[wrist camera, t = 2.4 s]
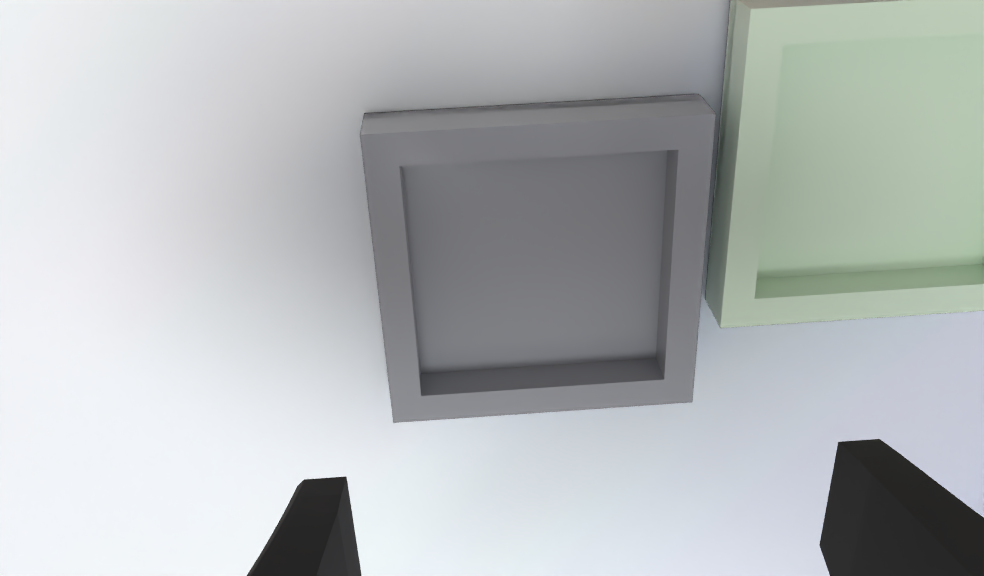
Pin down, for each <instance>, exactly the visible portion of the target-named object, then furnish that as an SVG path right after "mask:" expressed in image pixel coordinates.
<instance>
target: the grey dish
mask: <svg viewBox="0 0 984 576" xmlns="http://www.w3.org/2000/svg"><path fill="white" fill-rule="evenodd" d="M715 118H716V114H715V112H714V111H713V110H712V109H711V108H710V106H709V105H708V104H707V103H706V102H705V101H704V99H703V98H702V97H701V96H700V95H699V94H693V95H676V96H658V97H641V98H624V99H606V100H589V101H572V102H555V103H537V104H520V105H503V106H485V107H468V108H451V109H433V110H416V111H399V112H381V113H364V117H363V122H362V127H361V133H360V138H361V147H362V156H363V164H364V173H365V182H366V190H367V199H368V208H369V216H370V225H371V234H372V242H373V251H374V259H375V268H376V277H377V285H378V294H379V303H380V311H381V320H382V329H383V337H384V346H385V355H386V363H387V372H388V381H389V389H390V398H391V406H392V415H393V423H396V422H411V421H425V420H440V419H455V418H469V417H484V416H498V415H513V414H527V413H542V412H556V411H571V410H586V409H600V408H615V407H629V406H644V405H658V404H673V403H687V402H692V400H693V388H694V376H695V363H696V351H697V339H698V327H699V314H700V302H701V290H702V278H703V265H704V253H705V241H706V229H707V216H708V204H709V192H710V180H711V167H712V155H713V143H714V131H715Z"/></svg>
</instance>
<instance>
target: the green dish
mask: <svg viewBox="0 0 984 576" xmlns="http://www.w3.org/2000/svg"><path fill="white" fill-rule="evenodd" d="M705 300H706V302H707V304H708V306H709V308H710V309H711V311H712V313H713V315H714V317H715V319H716V321H717V323H718V325H719V326H720V328H730V327H745V326H760V325H775V324H790V323H805V322H821V321H836V320H851V319H866V318H881V317H896V316H911V315H926V314H941V313H957V312H972V311H984V0H730V10H729V22H728V34H727V46H726V58H725V70H724V82H723V93H722V105H721V117H720V129H719V141H718V153H717V165H716V176H715V188H714V200H713V212H712V224H711V236H710V248H709V259H708V271H707V283H706V295H705Z"/></svg>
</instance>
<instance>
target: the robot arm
mask: <svg viewBox="0 0 984 576" xmlns="http://www.w3.org/2000/svg"><path fill="white" fill-rule="evenodd" d="M820 548H821V551H822V553H823V556H824V559H825V562H826V565H827V568H828V571H829V574H830V576H984V518H983V517H982V516H981V515H979V514H978V513H976V512H975V511H974V510H972V509H971V508H970V507H969V506H967V505H966V504H965V503H963V502H962V501H961V500H959V499H958V498H957V497H955V496H954V495H953V494H951V493H950V492H949V491H947V490H946V489H945V488H944V487H942V486H941V485H940V484H938V483H937V482H936V481H934V480H933V479H932V478H931V477H929V476H928V475H927V474H925V473H924V472H923V471H921V470H920V469H919V468H918V467H916V466H915V465H914V464H912V463H911V462H910V461H908V460H907V459H906V458H904V457H903V456H902V455H901V454H899V453H898V452H897V451H895V450H894V449H893V448H891V447H890V446H888V445H887V444H886V443H884V442H883V441H881V440H880V439H874V440H860V441H845V442H838V447H837V452H836V458H835V463H834V469H833V474H832V480H831V485H830V491H829V496H828V502H827V507H826V513H825V518H824V524H823V529H822V535H821V540H820ZM247 576H361V570H360V563H359V557H358V550H357V543H356V537H355V530H354V524H353V517H352V511H351V504H350V498H349V491H348V484H347V478H346V477H335V478H321V479H307V480H303V481H302V482H301V483H300V484H299V485H298V486H297V488H296V490H295V492H294V494H293V496H292V498H291V500H290V502H289V504H288V506H287V508H286V510H285V512H284V514H283V516H282V517H281V519H280V521H279V523H278V525H277V526H276V528H275V530H274V532H273V533H272V535H271V537H270V539H269V540H268V542H267V544H266V546H265V547H264V549H263V551H262V552H261V554H260V556H259V557H258V559H257V560H256V562H255V564H254V565H253V567H252V568H251V570H250V571H249V573H248V575H247Z"/></svg>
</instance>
